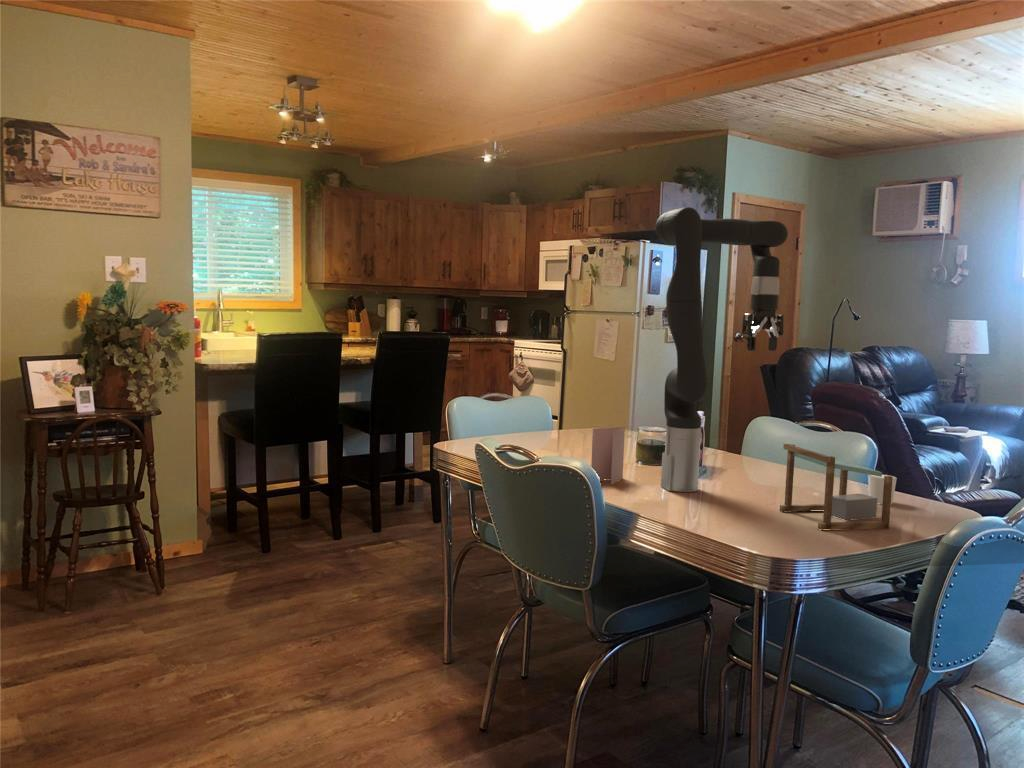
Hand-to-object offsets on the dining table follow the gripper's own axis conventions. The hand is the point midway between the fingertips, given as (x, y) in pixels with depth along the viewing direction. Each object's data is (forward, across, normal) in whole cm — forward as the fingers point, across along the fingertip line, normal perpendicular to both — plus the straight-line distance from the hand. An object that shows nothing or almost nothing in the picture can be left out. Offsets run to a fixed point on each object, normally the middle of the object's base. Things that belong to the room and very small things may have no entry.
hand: (761, 350), depth 221 cm
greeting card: (+38, +39, -16) cm, 57 cm away
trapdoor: (+25, +16, +39) cm, 49 cm away
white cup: (+38, -12, +32) cm, 51 cm away
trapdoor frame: (+38, +16, +39) cm, 57 cm away
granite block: (+36, +14, +38) cm, 54 cm away
